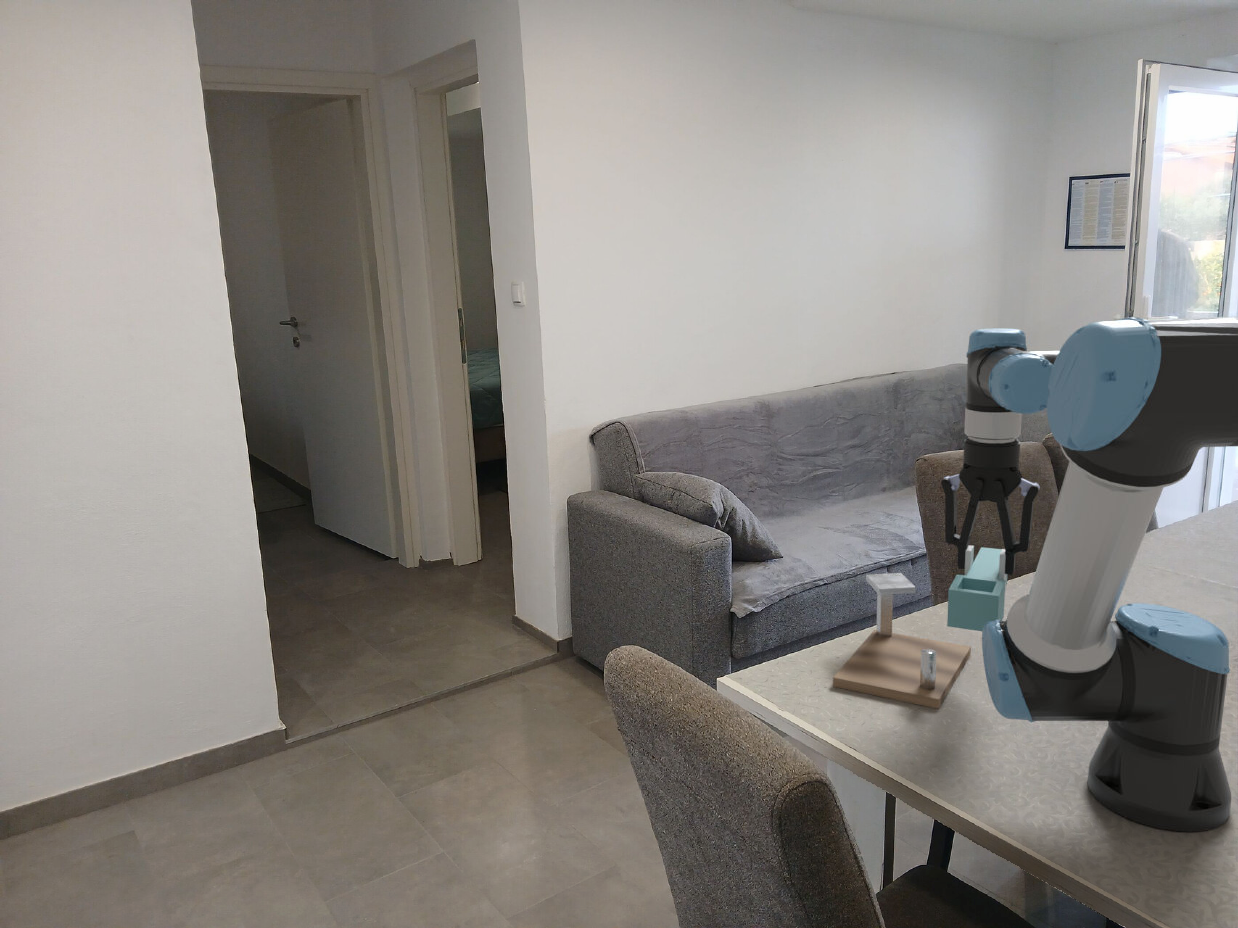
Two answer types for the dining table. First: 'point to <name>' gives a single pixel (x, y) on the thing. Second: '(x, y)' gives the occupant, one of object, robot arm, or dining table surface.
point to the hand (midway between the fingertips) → (984, 591)
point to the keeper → (888, 597)
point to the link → (977, 593)
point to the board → (901, 668)
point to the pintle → (928, 669)
